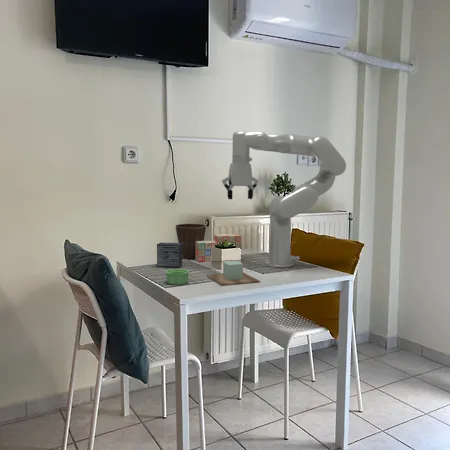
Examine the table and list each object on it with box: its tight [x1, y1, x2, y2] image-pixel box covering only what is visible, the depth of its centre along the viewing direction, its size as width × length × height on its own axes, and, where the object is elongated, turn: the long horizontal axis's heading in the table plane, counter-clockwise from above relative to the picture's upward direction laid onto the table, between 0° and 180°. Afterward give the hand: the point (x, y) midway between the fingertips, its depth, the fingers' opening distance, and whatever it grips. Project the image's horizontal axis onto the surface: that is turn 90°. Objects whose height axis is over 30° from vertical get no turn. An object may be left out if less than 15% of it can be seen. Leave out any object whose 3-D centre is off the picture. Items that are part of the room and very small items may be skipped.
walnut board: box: [206, 271, 261, 287], centre depth 180 cm, size 16×16×1 cm
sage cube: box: [222, 260, 244, 280], centre depth 180 cm, size 6×6×6 cm
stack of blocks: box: [194, 233, 242, 263], centre depth 218 cm, size 21×6×12 cm, turn 107°
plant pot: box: [175, 223, 207, 260], centre depth 223 cm, size 15×15×16 cm
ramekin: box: [165, 268, 190, 286], centre depth 175 cm, size 9×9×4 cm
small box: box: [156, 242, 183, 269], centre depth 203 cm, size 11×6×10 cm, turn 84°
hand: (240, 199), depth 203 cm, fingers open, 9 cm apart
